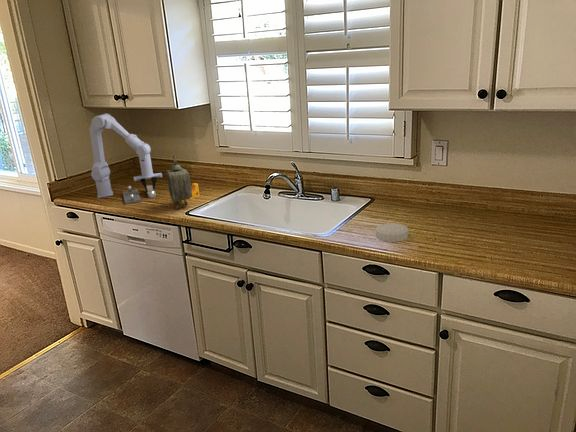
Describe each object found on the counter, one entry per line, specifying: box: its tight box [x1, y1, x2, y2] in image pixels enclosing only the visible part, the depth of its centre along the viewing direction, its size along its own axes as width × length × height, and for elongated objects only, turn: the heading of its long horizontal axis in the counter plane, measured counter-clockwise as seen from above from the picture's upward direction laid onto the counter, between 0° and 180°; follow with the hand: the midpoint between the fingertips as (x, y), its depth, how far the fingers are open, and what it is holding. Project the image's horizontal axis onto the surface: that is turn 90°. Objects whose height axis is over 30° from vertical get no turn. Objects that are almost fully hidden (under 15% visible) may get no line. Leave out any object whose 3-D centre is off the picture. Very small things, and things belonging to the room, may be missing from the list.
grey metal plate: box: [122, 185, 142, 205], centre depth 250 cm, size 23×8×4 cm, turn 21°
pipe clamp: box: [180, 182, 200, 203], centre depth 241 cm, size 12×4×6 cm, turn 143°
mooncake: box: [375, 222, 409, 243], centre depth 177 cm, size 12×12×4 cm
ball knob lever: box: [146, 184, 157, 199], centre depth 253 cm, size 15×4×3 cm, turn 21°
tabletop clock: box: [165, 154, 192, 210], centre depth 227 cm, size 14×9×25 cm, turn 21°
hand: (150, 191), depth 253 cm, fingers closed on ball knob lever, 3 cm apart
